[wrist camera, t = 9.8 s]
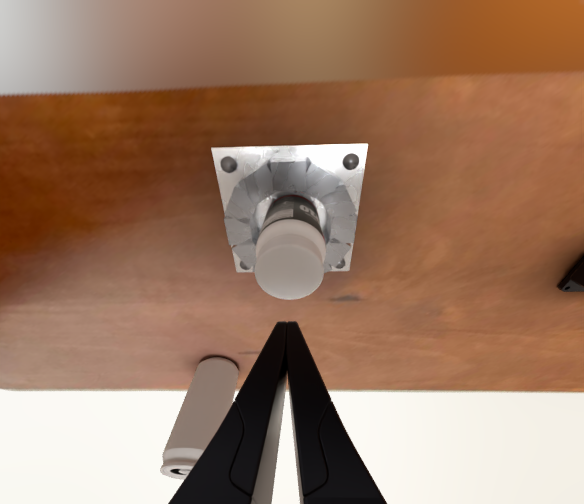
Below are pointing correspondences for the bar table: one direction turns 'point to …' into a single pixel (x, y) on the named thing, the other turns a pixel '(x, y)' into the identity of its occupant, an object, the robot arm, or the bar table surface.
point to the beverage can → (200, 415)
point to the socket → (291, 180)
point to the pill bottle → (290, 249)
